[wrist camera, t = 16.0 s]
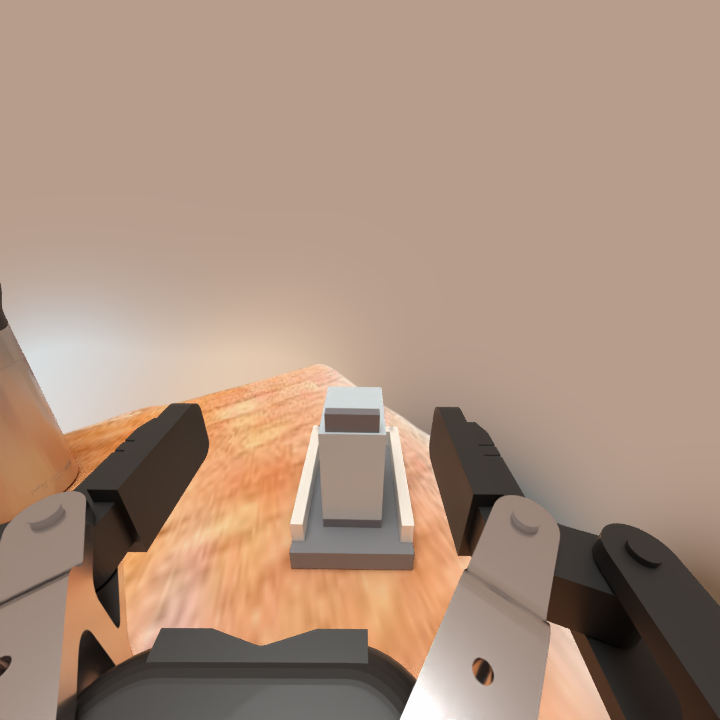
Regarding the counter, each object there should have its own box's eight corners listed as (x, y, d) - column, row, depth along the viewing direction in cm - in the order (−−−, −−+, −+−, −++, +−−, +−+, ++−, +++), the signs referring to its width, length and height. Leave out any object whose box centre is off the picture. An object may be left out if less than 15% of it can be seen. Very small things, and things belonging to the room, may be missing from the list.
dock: (291, 568, 25) (289, 552, 24) (315, 451, 38) (314, 439, 37) (412, 569, 25) (414, 554, 24) (395, 452, 38) (396, 439, 37)
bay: (292, 540, 25) (289, 524, 24) (314, 439, 37) (313, 425, 36) (412, 542, 25) (414, 525, 24) (396, 439, 37) (397, 426, 36)
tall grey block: (323, 526, 26) (316, 415, 22) (331, 467, 33) (327, 371, 28) (380, 527, 26) (387, 416, 22) (377, 468, 33) (382, 372, 28)
